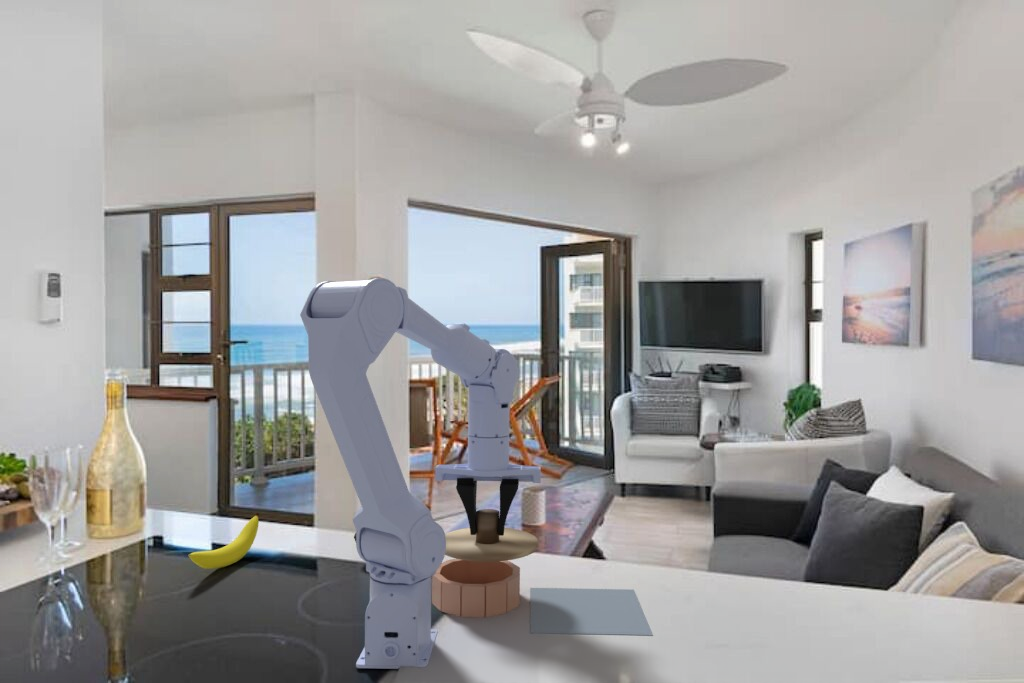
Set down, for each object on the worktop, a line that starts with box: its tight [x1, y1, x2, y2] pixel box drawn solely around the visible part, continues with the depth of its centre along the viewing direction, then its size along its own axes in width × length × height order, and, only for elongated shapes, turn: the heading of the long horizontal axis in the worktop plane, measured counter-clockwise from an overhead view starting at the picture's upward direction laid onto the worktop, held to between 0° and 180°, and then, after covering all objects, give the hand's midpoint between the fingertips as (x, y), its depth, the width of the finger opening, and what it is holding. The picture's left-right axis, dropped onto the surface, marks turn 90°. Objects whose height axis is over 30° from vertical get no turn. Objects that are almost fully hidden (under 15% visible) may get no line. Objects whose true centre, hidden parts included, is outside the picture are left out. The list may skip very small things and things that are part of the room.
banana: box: [188, 511, 261, 570], centre depth 108 cm, size 3×19×6 cm, turn 171°
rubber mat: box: [529, 587, 653, 637], centre depth 91 cm, size 15×15×1 cm
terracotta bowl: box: [431, 558, 521, 618], centre depth 94 cm, size 12×12×4 cm
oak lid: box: [445, 508, 539, 562], centre depth 94 cm, size 14×14×5 cm
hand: (487, 533), depth 94 cm, fingers closed on oak lid, 3 cm apart
